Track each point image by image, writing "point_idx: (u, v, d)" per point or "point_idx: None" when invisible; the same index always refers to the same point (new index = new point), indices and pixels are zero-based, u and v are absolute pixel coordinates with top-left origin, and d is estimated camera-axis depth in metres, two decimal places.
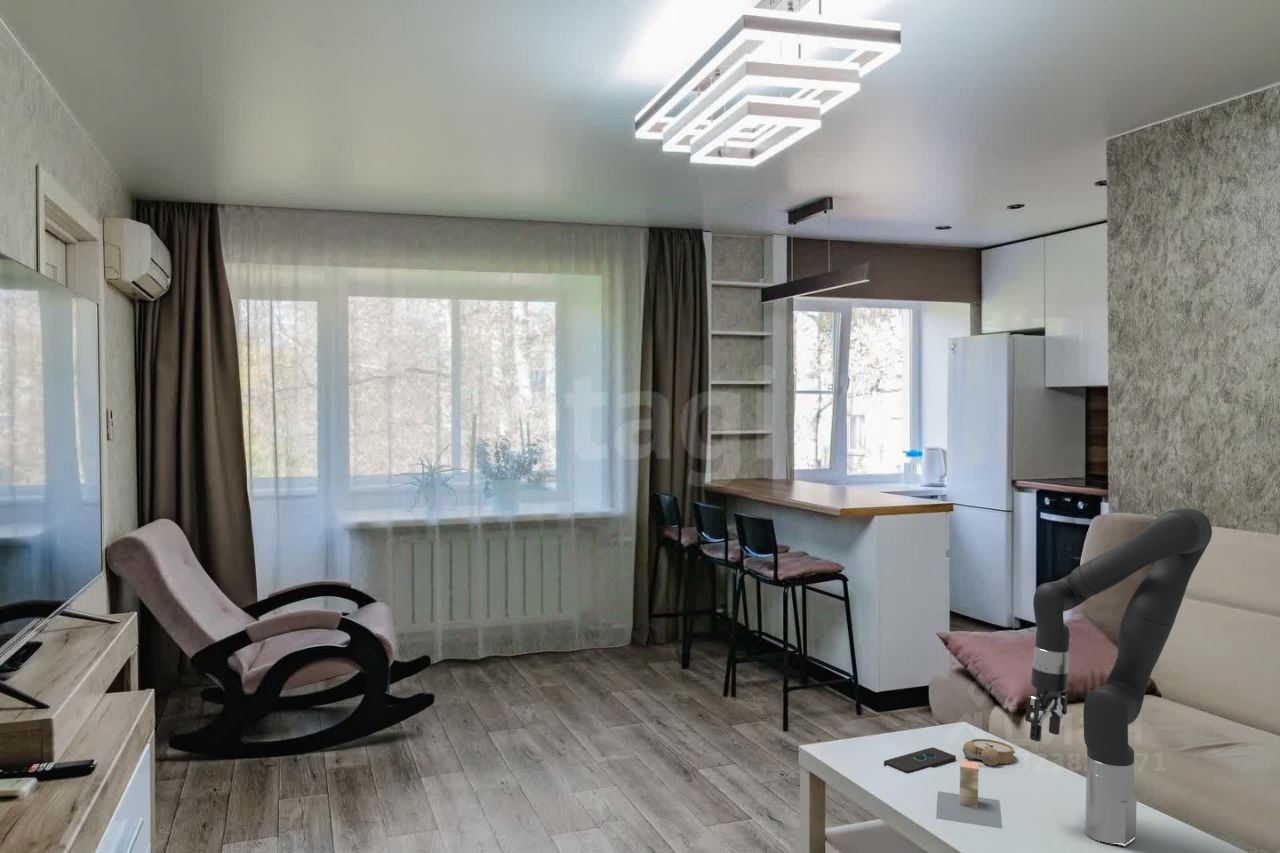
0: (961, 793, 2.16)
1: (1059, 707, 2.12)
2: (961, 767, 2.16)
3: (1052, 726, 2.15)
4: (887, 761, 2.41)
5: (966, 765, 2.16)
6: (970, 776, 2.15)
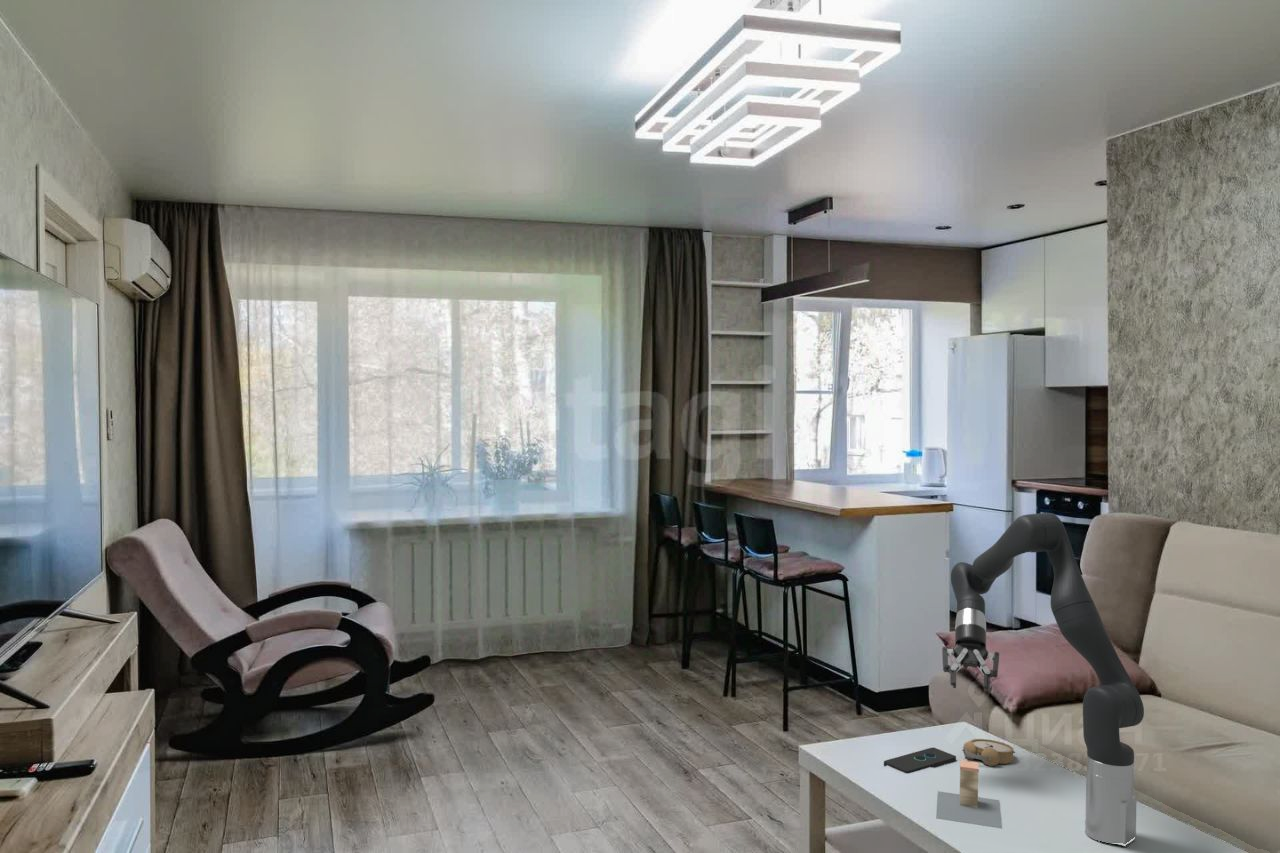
0: (961, 793, 2.16)
1: (979, 659, 2.30)
2: (961, 767, 2.16)
3: None
4: (887, 761, 2.41)
5: (966, 765, 2.16)
6: (970, 776, 2.15)
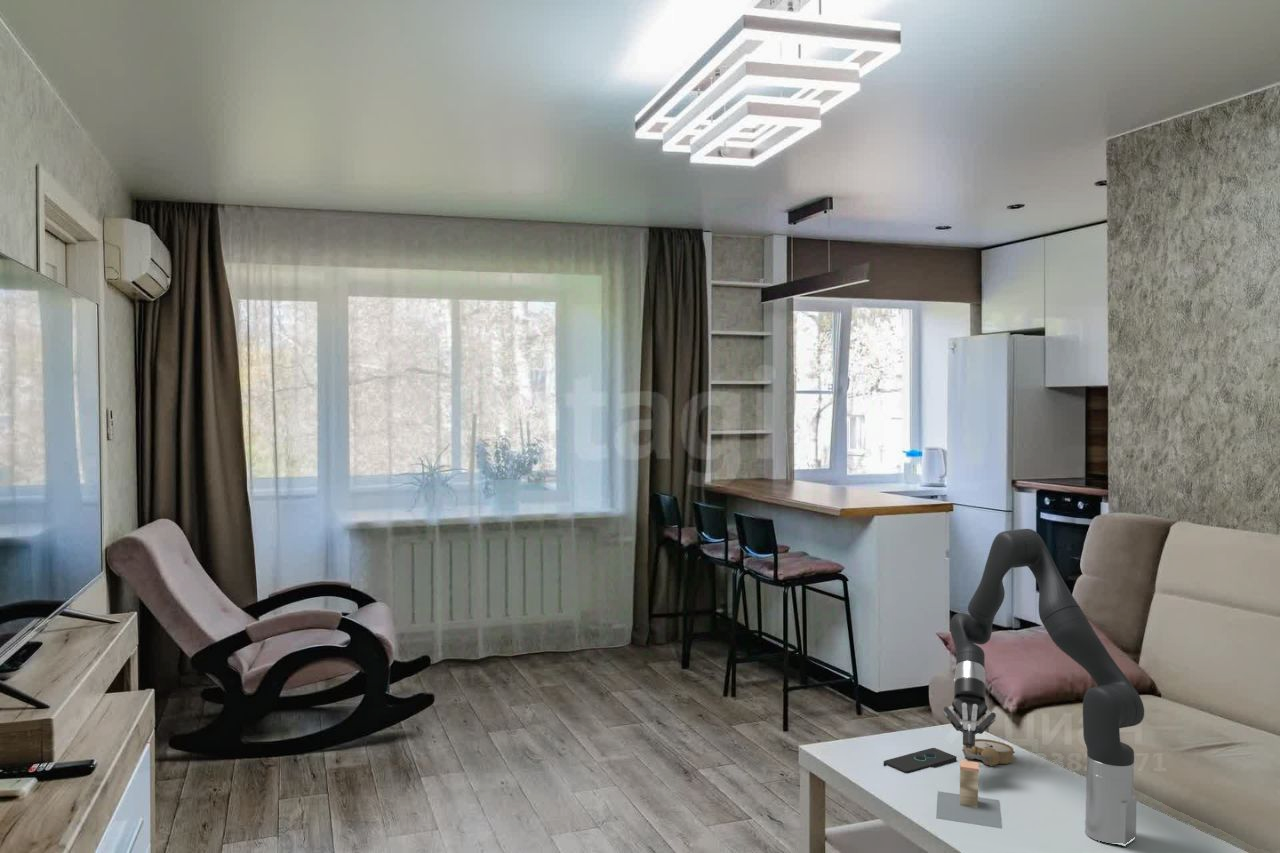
0: (961, 793, 2.16)
1: (973, 714, 2.29)
2: (961, 767, 2.16)
3: None
4: (887, 761, 2.41)
5: (966, 765, 2.16)
6: (970, 776, 2.15)
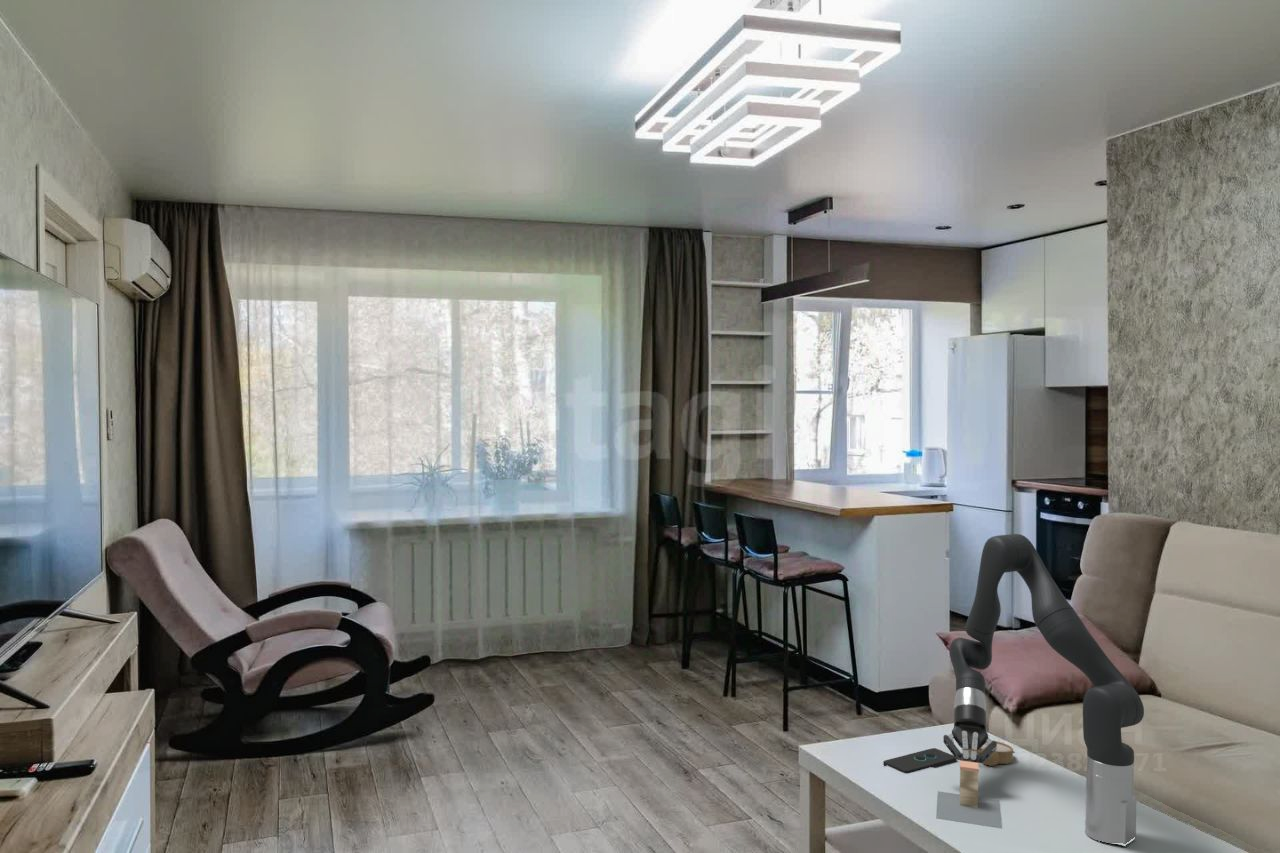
0: (961, 793, 2.16)
1: (973, 743, 2.23)
2: (961, 767, 2.16)
3: None
4: (887, 761, 2.41)
5: (966, 765, 2.16)
6: (970, 776, 2.15)
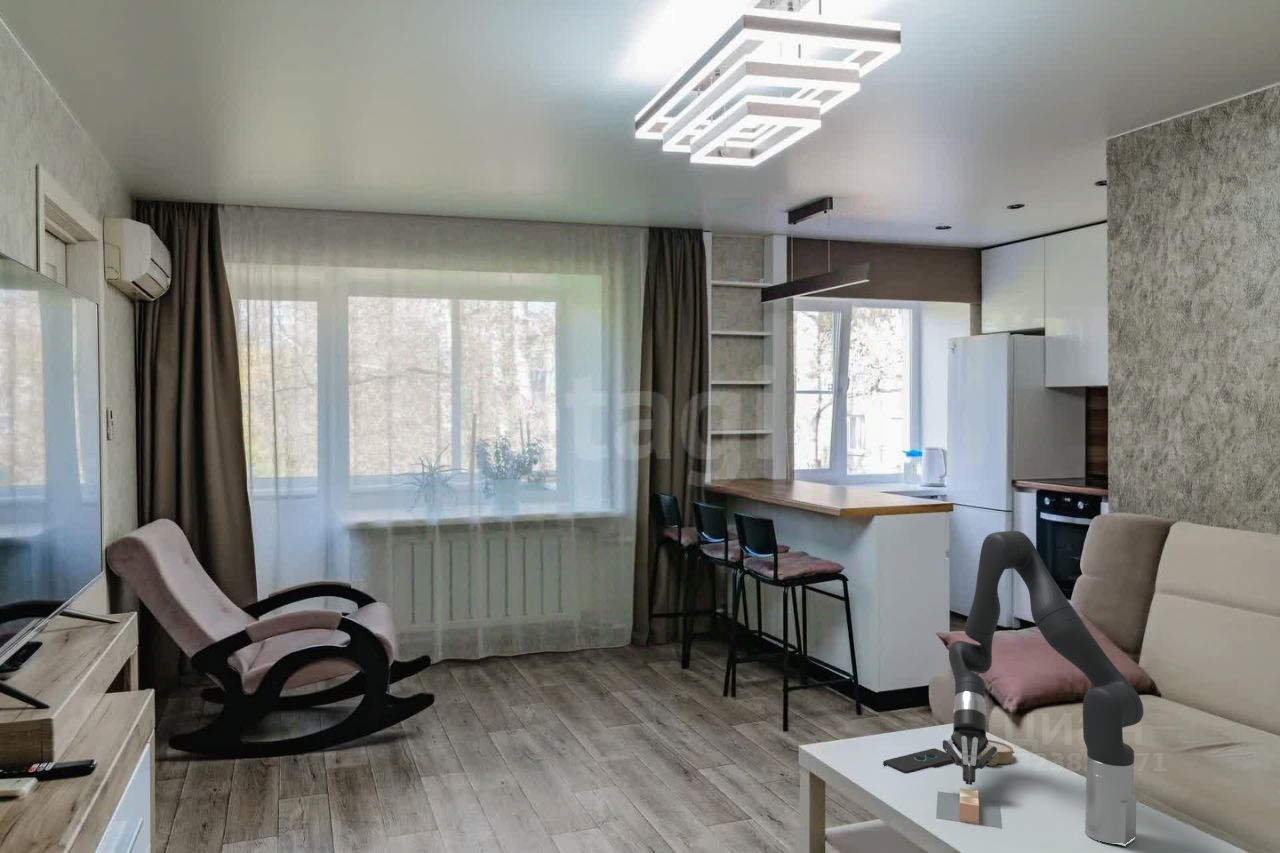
0: None
1: (973, 748, 2.19)
2: (960, 820, 2.07)
3: None
4: (886, 761, 2.41)
5: (966, 816, 2.07)
6: None
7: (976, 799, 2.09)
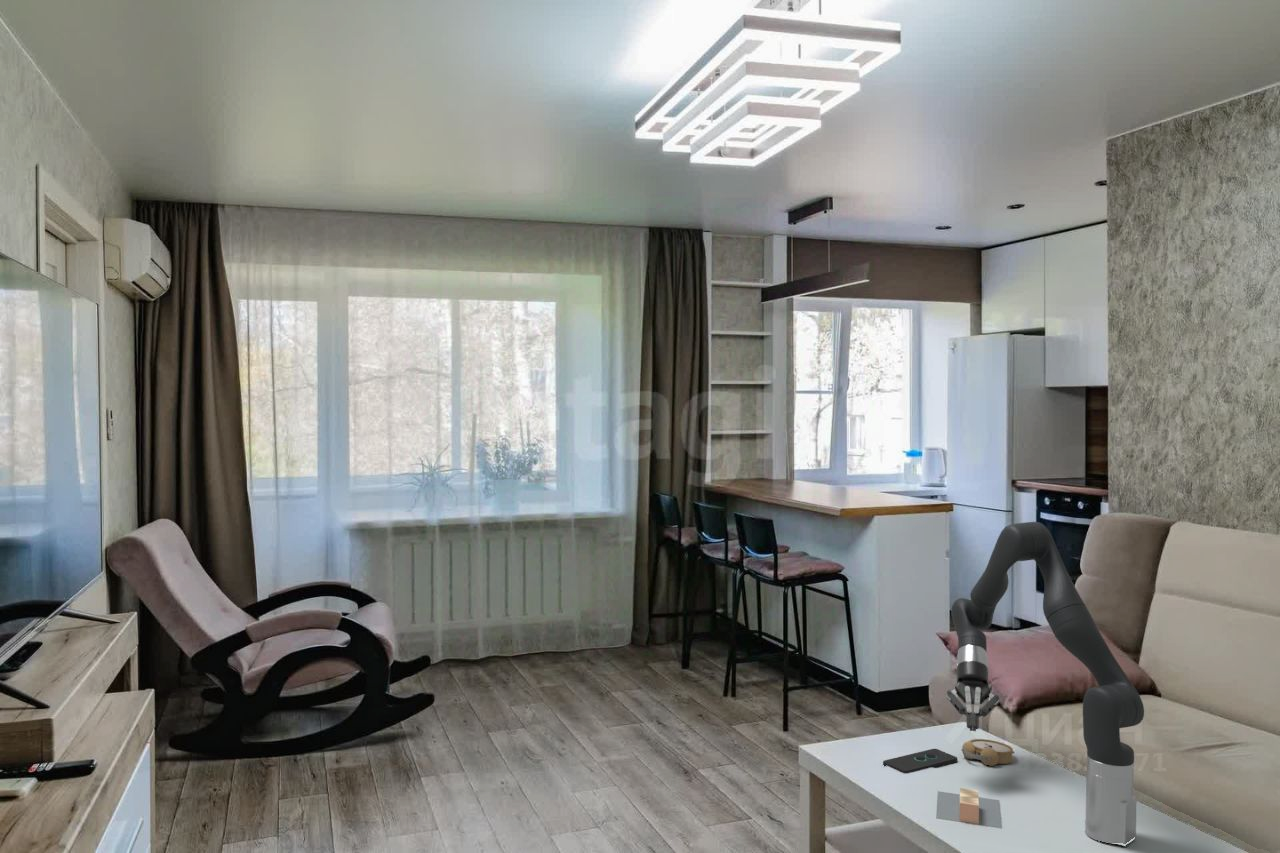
0: None
1: (976, 697, 2.28)
2: (960, 820, 2.07)
3: None
4: (886, 761, 2.41)
5: (966, 816, 2.07)
6: None
7: (976, 799, 2.09)
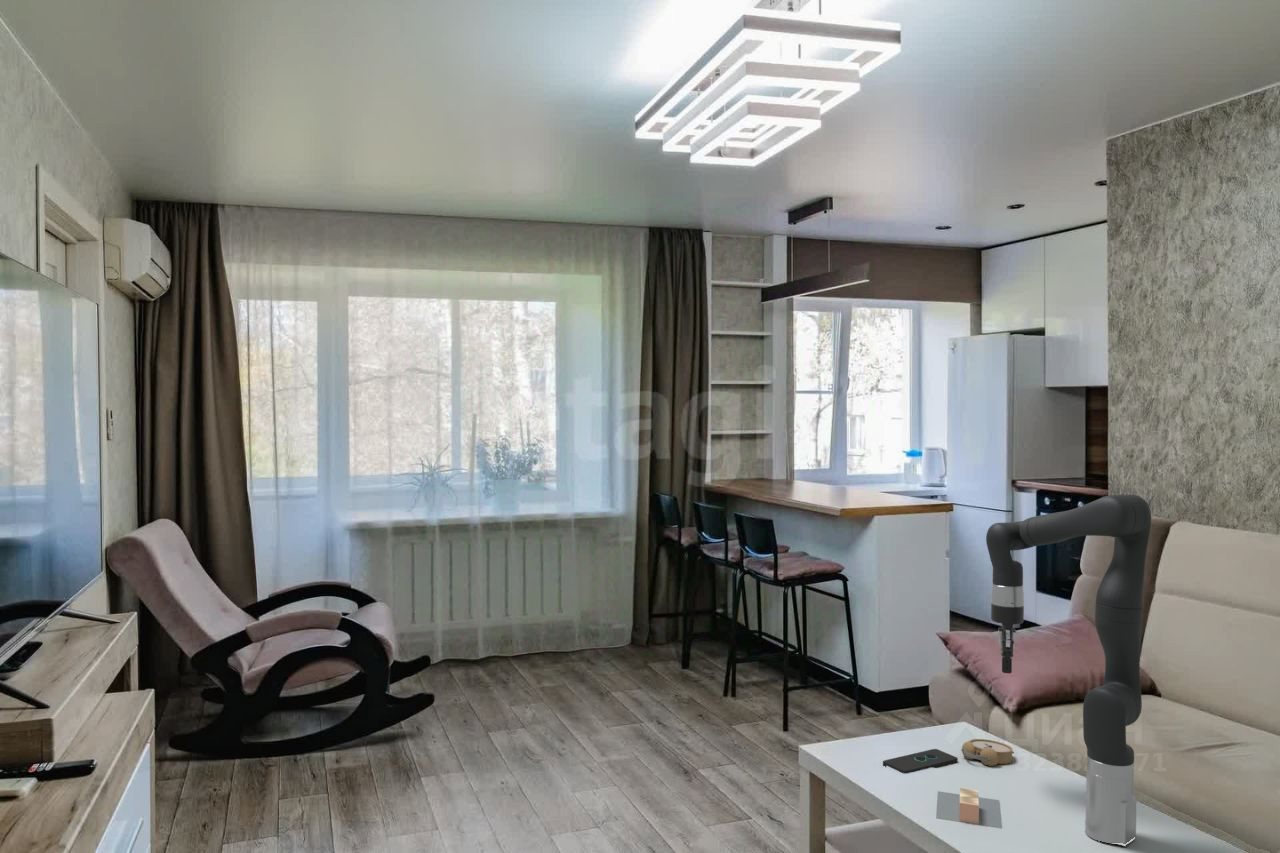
0: None
1: None
2: (960, 820, 2.07)
3: None
4: (886, 761, 2.41)
5: (966, 816, 2.07)
6: None
7: (976, 799, 2.09)
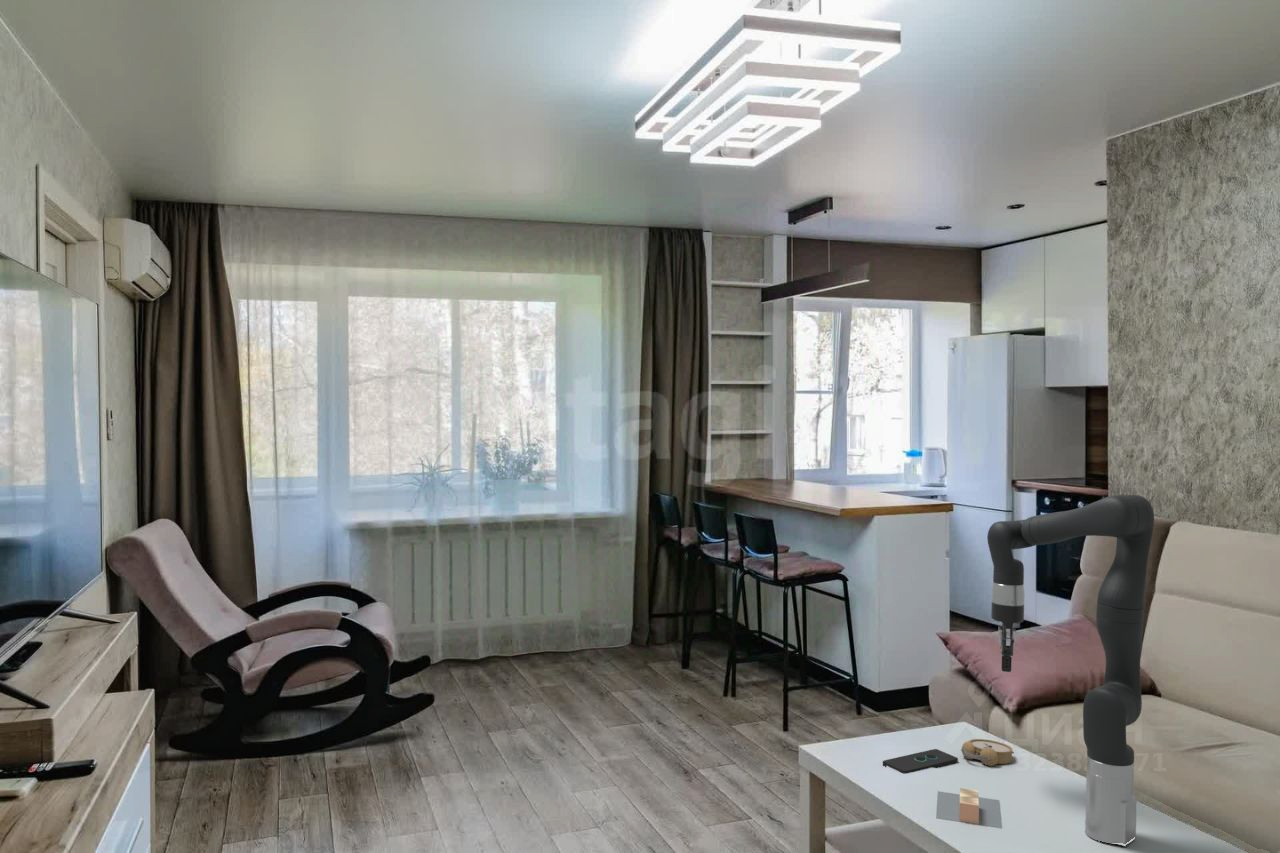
0: None
1: None
2: (960, 820, 2.07)
3: None
4: (886, 761, 2.41)
5: (966, 816, 2.07)
6: None
7: (976, 799, 2.09)
